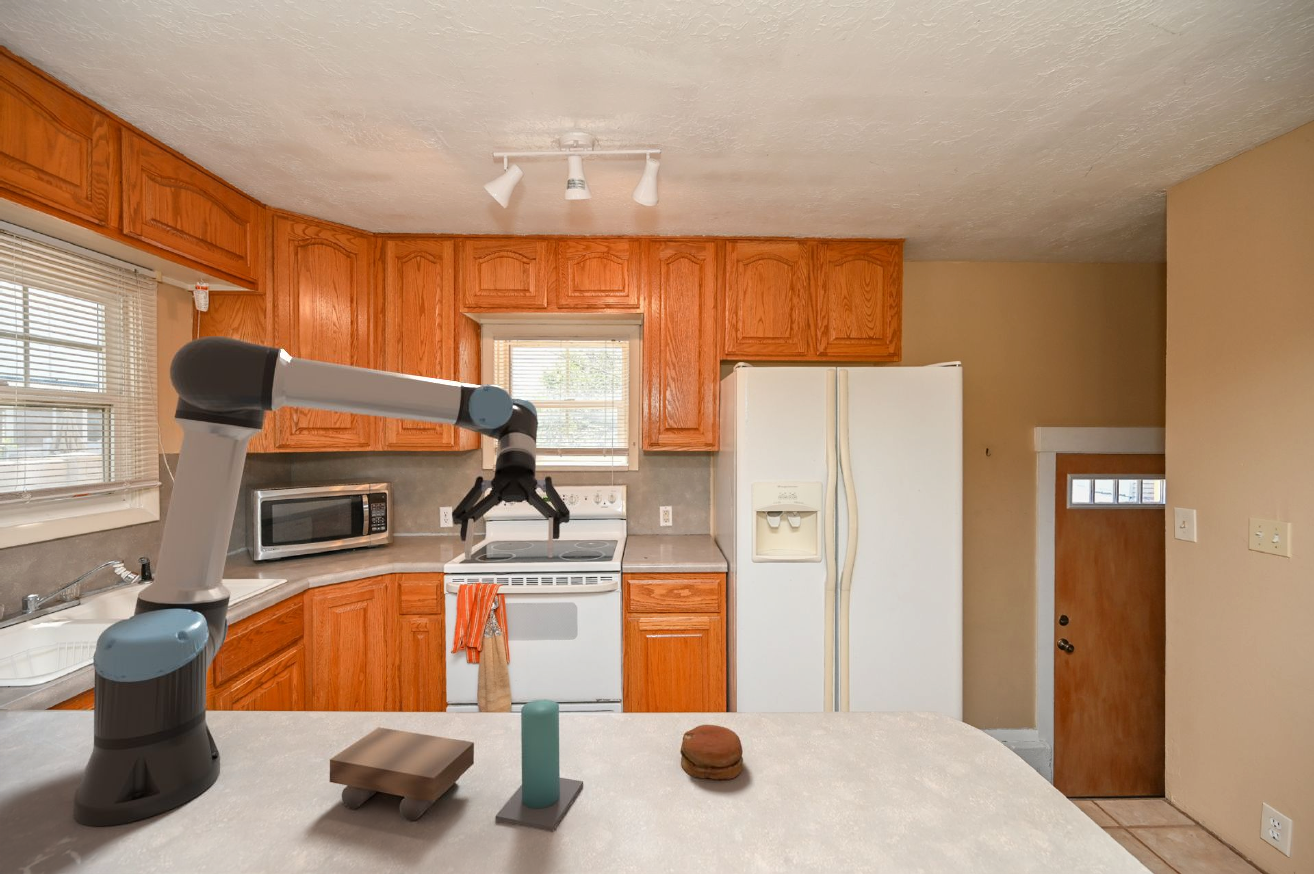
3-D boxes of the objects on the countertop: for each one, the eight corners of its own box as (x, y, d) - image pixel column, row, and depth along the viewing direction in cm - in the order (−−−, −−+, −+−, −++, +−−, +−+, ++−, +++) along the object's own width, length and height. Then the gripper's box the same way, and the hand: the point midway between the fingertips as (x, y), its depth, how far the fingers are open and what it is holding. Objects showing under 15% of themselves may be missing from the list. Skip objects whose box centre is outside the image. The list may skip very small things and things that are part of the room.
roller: (515, 806, 76) (514, 714, 76) (531, 783, 80) (531, 698, 81) (550, 811, 74) (549, 718, 75) (565, 788, 79) (564, 701, 79)
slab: (329, 804, 76) (329, 759, 77) (378, 767, 85) (378, 727, 85) (433, 825, 72) (433, 778, 72) (473, 784, 81) (473, 742, 81)
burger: (753, 777, 84) (753, 745, 84) (694, 788, 81) (694, 755, 81) (726, 743, 93) (726, 714, 93) (671, 752, 90) (672, 722, 91)
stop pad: (495, 820, 74) (495, 815, 74) (531, 776, 83) (531, 772, 83) (552, 831, 71) (552, 826, 72) (583, 785, 81) (583, 781, 81)
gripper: (579, 474, 116) (583, 564, 101) (451, 475, 112) (434, 568, 97) (581, 448, 111) (584, 539, 96) (446, 448, 107) (428, 542, 92)
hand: (509, 554), depth 97 cm, fingers open, 13 cm apart
